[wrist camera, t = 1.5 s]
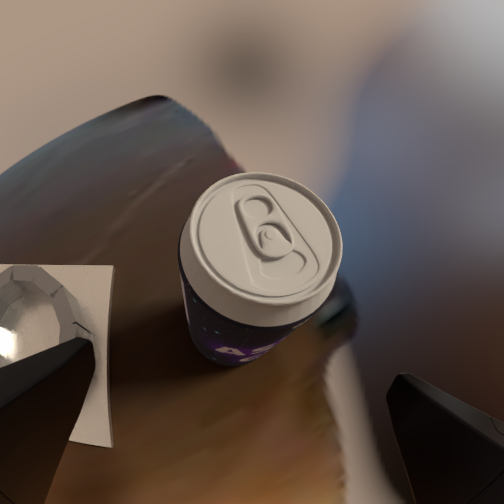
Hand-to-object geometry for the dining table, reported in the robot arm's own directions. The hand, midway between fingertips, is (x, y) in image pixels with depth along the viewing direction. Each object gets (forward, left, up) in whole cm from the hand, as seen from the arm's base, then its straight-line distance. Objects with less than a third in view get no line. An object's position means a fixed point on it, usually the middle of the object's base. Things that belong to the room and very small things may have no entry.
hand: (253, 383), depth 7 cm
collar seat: (+2, +14, -11) cm, 18 cm away
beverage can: (+4, -1, -12) cm, 12 cm away
